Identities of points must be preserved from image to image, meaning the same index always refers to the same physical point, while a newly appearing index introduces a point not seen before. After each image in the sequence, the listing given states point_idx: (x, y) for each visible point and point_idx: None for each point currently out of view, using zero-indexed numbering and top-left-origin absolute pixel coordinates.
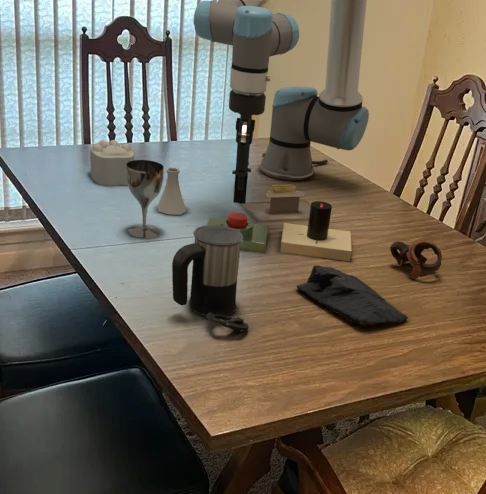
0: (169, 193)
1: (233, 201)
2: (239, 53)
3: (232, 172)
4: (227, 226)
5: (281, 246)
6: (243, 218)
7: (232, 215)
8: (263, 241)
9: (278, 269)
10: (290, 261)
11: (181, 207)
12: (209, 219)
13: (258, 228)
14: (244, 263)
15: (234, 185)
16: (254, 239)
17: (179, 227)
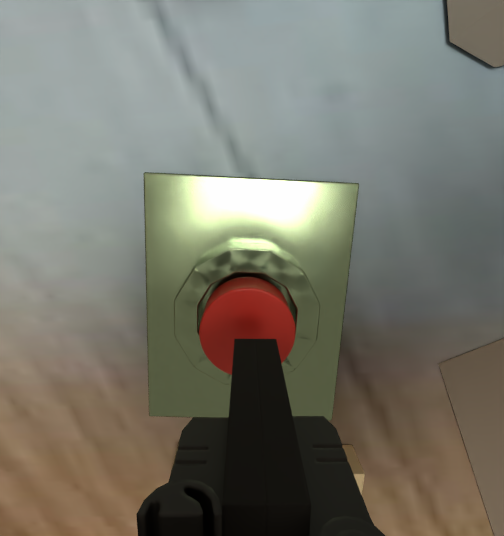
0: None
1: (234, 342)
2: None
3: (140, 508)
4: (188, 281)
5: (174, 459)
6: (222, 361)
7: (245, 309)
8: (166, 409)
9: (40, 439)
10: (118, 470)
11: (491, 31)
12: (340, 185)
13: (292, 387)
14: (43, 336)
15: (229, 407)
16: (174, 378)
17: (311, 55)
